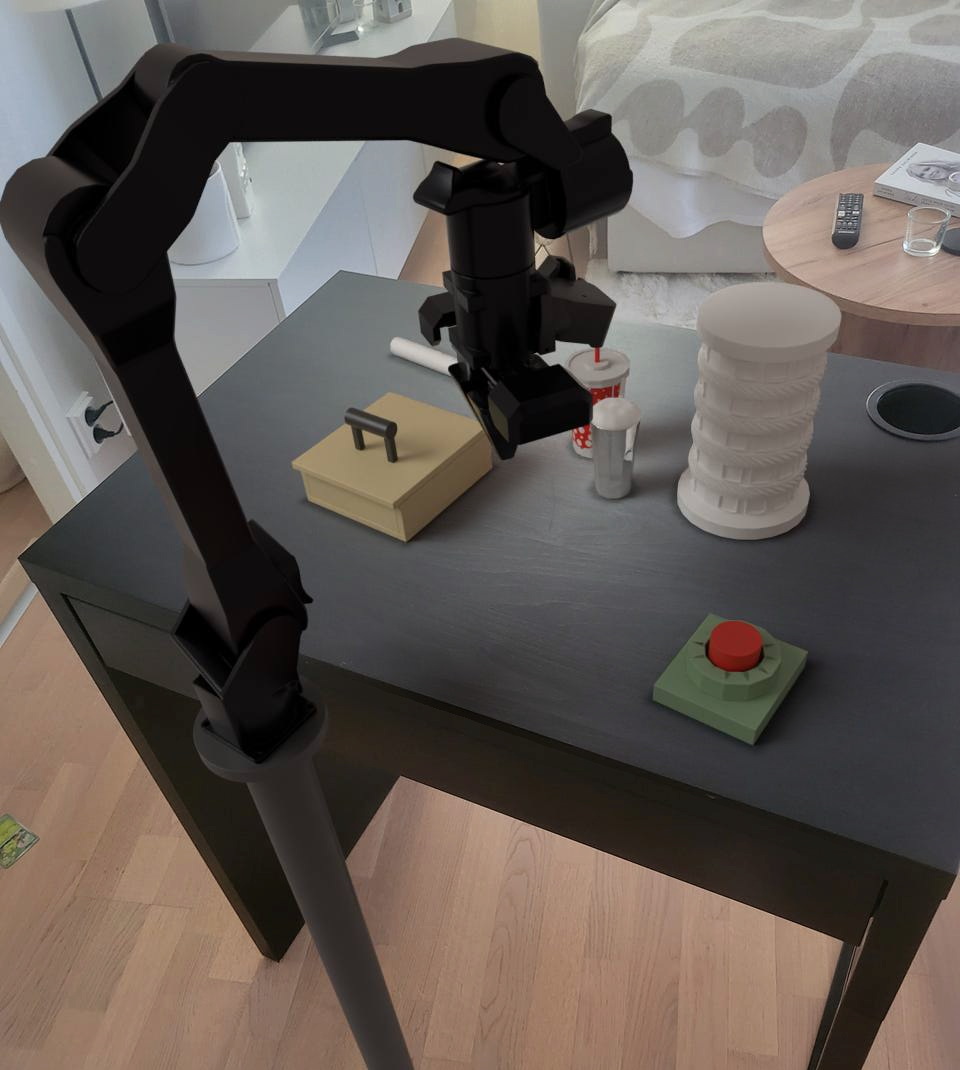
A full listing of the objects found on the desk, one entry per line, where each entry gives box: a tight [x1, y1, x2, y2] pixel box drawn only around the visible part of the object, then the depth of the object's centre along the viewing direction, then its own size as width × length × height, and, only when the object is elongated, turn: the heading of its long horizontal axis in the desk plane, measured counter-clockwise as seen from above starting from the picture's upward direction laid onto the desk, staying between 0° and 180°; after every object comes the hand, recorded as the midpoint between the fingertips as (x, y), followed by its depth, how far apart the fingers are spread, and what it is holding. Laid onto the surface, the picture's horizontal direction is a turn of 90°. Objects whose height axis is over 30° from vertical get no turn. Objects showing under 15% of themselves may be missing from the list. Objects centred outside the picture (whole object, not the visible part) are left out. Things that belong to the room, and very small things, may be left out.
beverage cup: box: [563, 347, 631, 460], centre depth 89 cm, size 6×6×14 cm
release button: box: [708, 621, 762, 672], centre depth 68 cm, size 4×4×2 cm
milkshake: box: [590, 377, 642, 500], centre depth 86 cm, size 4×5×10 cm
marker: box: [389, 336, 458, 377], centre depth 105 cm, size 18×2×2 cm, turn 49°
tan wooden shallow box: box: [300, 434, 493, 543], centre depth 91 cm, size 13×12×4 cm
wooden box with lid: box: [291, 391, 485, 509], centre depth 88 cm, size 14×12×5 cm
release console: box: [652, 612, 809, 746], centre depth 70 cm, size 9×8×4 cm
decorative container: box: [676, 281, 843, 541], centre depth 80 cm, size 12×12×18 cm
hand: (506, 457), depth 74 cm, fingers closed
